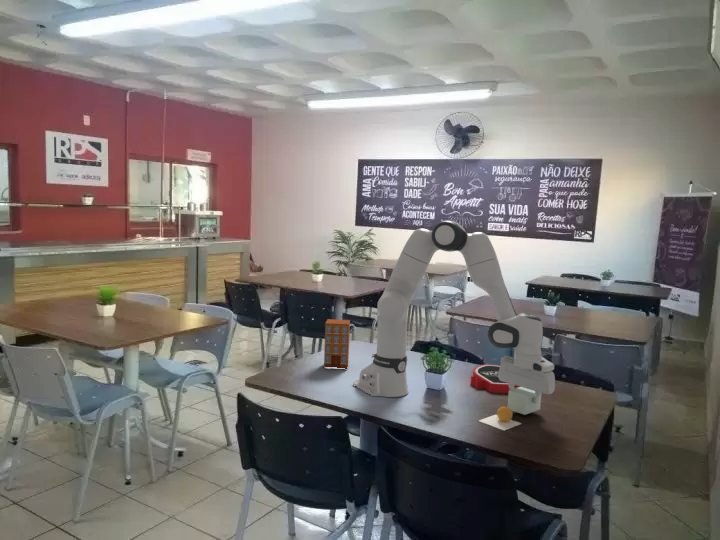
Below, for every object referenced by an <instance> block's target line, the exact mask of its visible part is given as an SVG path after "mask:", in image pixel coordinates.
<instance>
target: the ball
mask: <svg viewBox="0 0 720 540" xmlns="http://www.w3.org/2000/svg"><path fill="white" fill-rule="evenodd" d="M496 415H497V416H498V418H499V419H500V420H501V421H503V422H507V421H509V420H512V418H513V416H514V415H513V411H512V410H511V409H510V408H509V407H507V406H505V405H504V406H500V407H499V408H498V409H497V412H496Z"/></svg>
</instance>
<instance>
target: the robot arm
mask: <svg viewBox="0 0 720 540" xmlns="http://www.w3.org/2000/svg"><path fill="white" fill-rule="evenodd" d="M439 250H440V251H444V252H447V253H450V252H459V253H461V255H462V257H463V259H464V262H465V266H466V269H467V272H468V275H469V276H470V279H471V281H472V284H474V285H475V286H476V287H478V288H479V289H481V290H483V291H485V293H487V294H488V296H489V297H490V299H491V301H492V304H493V307H494V310H495V312H496V316H497V321H496V322H494V323H493V324H491V325H490V326H489V327H488V331H487V338H488V341H489V343H490V344H491V345H492V346H493V347H495V348H498V349H514V355H513V356H509V355H506V354H505V355H503V356H501V358H500V365H499V366H500V369H499V375H498V377H499V379H500V381H504V382H507V383H509V384H508V386H509V389H510V390H512V389H515V388H514V386H515V385H517V386H520V387H524V388H527V389H530V390H534V391H535V394H537V395H536V396H535V397H534V398H532V403H535V404H537V403H538V398H539V397H540V396H541V397H542V395H543V394H544V395H551V394H553V393H554V392H555V388H556V377H555V373H554V372H553V371H554V370H555V364H554V363H553V362H551V361H549V360H547V359H546V358H545V357H544V356H542V350H541V347H542V343H543V336H544V335H543V334H544V333H543V332H544V329H543V321H542V319H541V318H540V317H539V316H537V315H535V314H532V313H528V312H521V313H519V314H517V312H516V310H515V308H514V305H513V302H512V300H511V297H510V295H509V292H508V288H507V287H506V286H507V285H506V283H505V281H504V278H503V275H502V269H501V266H500V262H499V259H498V257H497V253H496V250H495V248H494V246H493V244H492V242H491V240H490V238H489V236H488V235H487V234H486V233H485V232H482V231H476V232H471V233H468V232H467V229H466V228H465V227H464V226H463V225H462V224H460V223H459V222H458V221H455V220H442V221H439V222H438V223H437V224H436V225H434V227H433V228H432V230H429V229H427V228H421V227H420V228H417V229H414V231H413V232H412V233H411V235H410V236H409V238H408V239H407V241H406V243H405V244H404V246H403V249H402V250H401V253H400V255H399V256H398V258H397V262H396V263H395V265H394V268H393V269H392V273H391V275H390V276H389V279H388V281H387V284H386V286H385V288H384V291H383V293H382V295H381V296H380V298H379V299H378V301H377V305H376V306H377V308H376V310H377V311H376V313H377V314H376V316H377V317H376V319H377V320H376V321H377V322H376V323H377V324H376V327H377V336H376V337H377V338H376V339H377V341H376V353H375V354H373V353H372V355H371V358H372V362H371V363H370V364H368V365H367V366H365V367H364V368H362V369H361V371H360V373H359V379H358V380H357V379H356V380H354V382H352V385H353V386H354V385H355V386H357V387H358V388H357V387H356V388H357V389H359V388H360V389H361V390H360V389H359V390H360V391H362V390H363V391H362V392H364V391H365V392H364V393H366V394H367V393H368V395H369V394H370V395H369V396H371V397H387V398H398V397H403V396H406V395H408V394H409V389H408V387H409V385H408V380H407V378H408V377H407V363H408V356H407V339H408V335H407V334H408V310H409V306H410V305H411V303H412V301H413V299H414V296H415V295H416V292H417V290H418V287H419V286H420V284H421V282H422V280H423V277H424V276H425V274H426V271H427V269H428V267H429V264H430V263H431V261H432V259H433V256H434V255H435V253H436V252H438V251H439ZM355 386H354V387H355Z"/></svg>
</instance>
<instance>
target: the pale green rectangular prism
mask: <svg viewBox="0 0 720 540" xmlns="http://www.w3.org/2000/svg"><path fill="white" fill-rule="evenodd" d="M507 394H508V395H507V396H508V397H507V406H506V407H509V408H510V409H511V410H512V412H516V413H519V414H521V415H524V416H525V415H528V414H531V413H535V412H537V411H539V410H541V403H542V395H541V396H540V397H539V398H538V403H537V404H535V403H532V398H534V397H535V396H536V395H537V394H535V391H534V390H530V389H527V388H524V387H518V388H515V389H512V390H509V393H507Z"/></svg>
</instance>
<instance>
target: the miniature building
mask: <svg viewBox="0 0 720 540" xmlns="http://www.w3.org/2000/svg"><path fill="white" fill-rule="evenodd" d="M324 324H325V325H324V354H323V355H324V356H323V368H324V367H337V368H345V369H347V370H348V368H347V367H349V356H350V355H349V354H350V332H351V331H350V330H351V329H350V328H351V320H349V319H329V318H327V319H326V321H325V323H324Z"/></svg>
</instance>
